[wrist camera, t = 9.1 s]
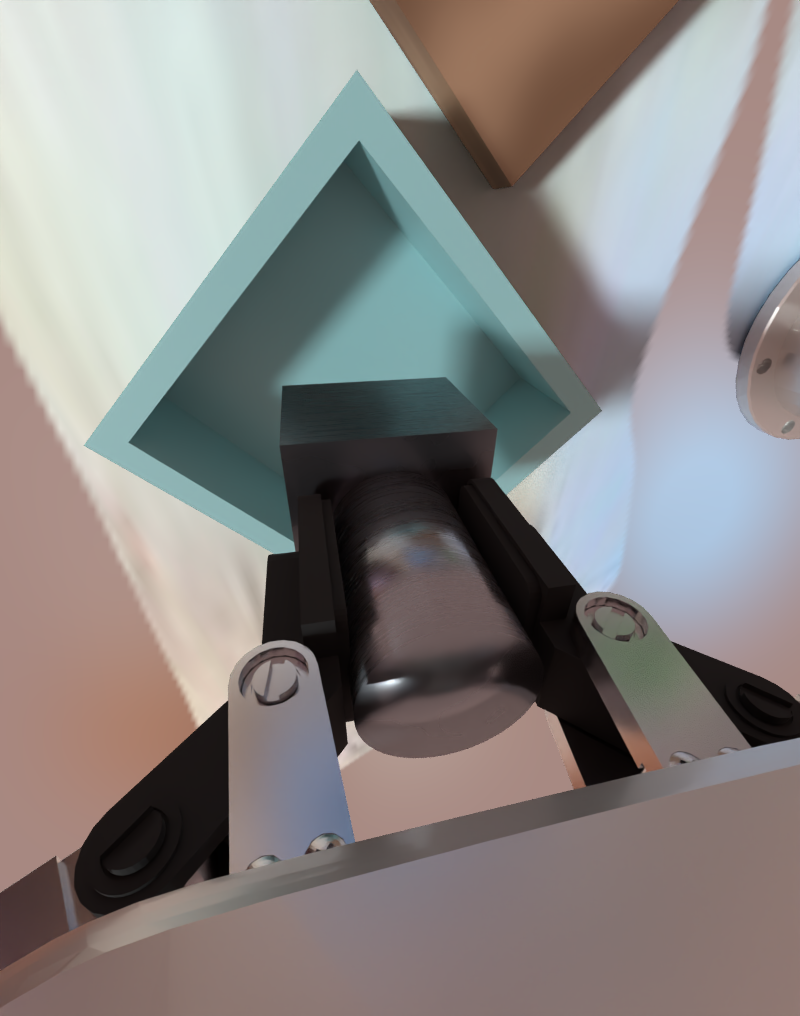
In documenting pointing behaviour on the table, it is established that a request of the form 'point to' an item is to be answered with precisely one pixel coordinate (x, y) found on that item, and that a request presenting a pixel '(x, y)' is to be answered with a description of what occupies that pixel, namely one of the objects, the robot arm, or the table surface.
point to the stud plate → (516, 66)
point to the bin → (337, 328)
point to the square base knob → (410, 560)
